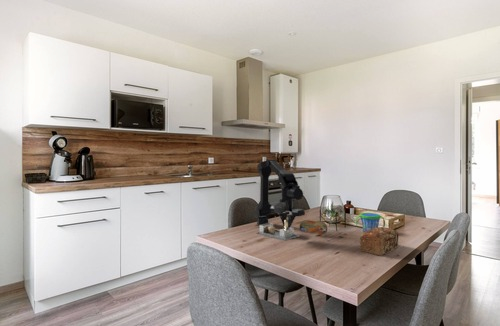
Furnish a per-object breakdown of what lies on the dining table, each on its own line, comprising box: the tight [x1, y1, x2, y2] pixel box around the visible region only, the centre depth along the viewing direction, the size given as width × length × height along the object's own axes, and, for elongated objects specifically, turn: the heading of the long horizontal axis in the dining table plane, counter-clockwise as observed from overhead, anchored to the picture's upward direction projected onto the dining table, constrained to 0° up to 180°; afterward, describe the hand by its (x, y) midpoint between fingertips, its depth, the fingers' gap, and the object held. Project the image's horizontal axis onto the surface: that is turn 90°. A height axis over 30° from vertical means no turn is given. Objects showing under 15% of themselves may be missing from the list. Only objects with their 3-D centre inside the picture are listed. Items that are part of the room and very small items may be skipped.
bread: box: [359, 226, 399, 256], centre depth 133 cm, size 19×11×10 cm, turn 131°
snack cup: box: [355, 212, 386, 233], centre depth 164 cm, size 16×10×10 cm
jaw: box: [279, 218, 295, 238], centre depth 149 cm, size 3×8×9 cm, turn 134°
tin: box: [299, 219, 328, 238], centre depth 157 cm, size 15×3×8 cm, turn 62°
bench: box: [256, 222, 302, 242], centre depth 153 cm, size 20×14×6 cm
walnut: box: [268, 226, 276, 234], centre depth 157 cm, size 4×4×3 cm
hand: (286, 227), depth 149 cm, fingers open, 3 cm apart
